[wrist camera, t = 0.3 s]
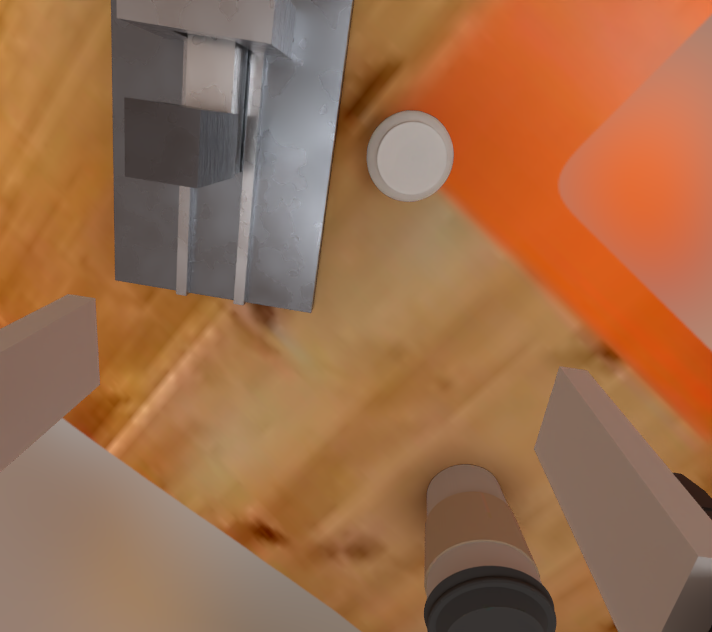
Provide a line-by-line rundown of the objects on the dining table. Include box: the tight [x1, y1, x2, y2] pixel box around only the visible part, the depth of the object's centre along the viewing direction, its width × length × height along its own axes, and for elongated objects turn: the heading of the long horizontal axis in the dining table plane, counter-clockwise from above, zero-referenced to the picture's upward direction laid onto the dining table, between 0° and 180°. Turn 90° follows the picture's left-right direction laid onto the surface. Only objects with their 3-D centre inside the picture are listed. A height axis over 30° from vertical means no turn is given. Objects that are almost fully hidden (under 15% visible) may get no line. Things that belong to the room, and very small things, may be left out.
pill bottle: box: [367, 110, 454, 202], centre depth 32 cm, size 5×5×10 cm
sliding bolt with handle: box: [124, 33, 248, 189], centre depth 29 cm, size 16×4×10 cm, turn 171°
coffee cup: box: [424, 465, 556, 632], centre depth 40 cm, size 9×9×15 cm
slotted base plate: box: [111, 0, 354, 313], centre depth 33 cm, size 28×16×8 cm, turn 171°
